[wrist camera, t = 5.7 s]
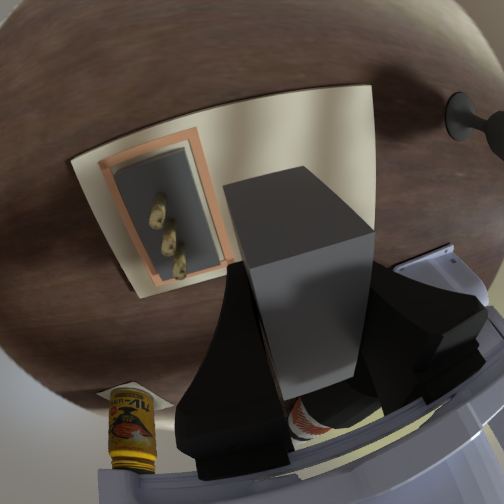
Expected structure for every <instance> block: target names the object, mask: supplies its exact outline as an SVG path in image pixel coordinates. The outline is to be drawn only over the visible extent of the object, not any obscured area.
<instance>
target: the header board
mask: <svg viewBox="0 0 504 504" xmlns="http://www.w3.org/2000/svg"><path fill="white" fill-rule="evenodd" d="M71 163H72V166H73V168H74V171H75V173H76V176H77V178H78V180H79V183H80V185H81V187H82V189H83V192H84V194H85V196H86V198H87V201H88V203H89V205H90V207H91V209H92V211H93V213H94V215H95V217H96V219H97V222H98V224H99V226H100V228H101V230H102V232H103V233H104V235H105V237H106V239H107V241H108V243H109V245H110V247H111V249H112V251H113V252H114V254H115V256H116V258H117V260H118V262H119V263H120V265H121V267H122V269H123V270H124V272H125V274H126V276H127V277H128V279H129V281H130V283H131V284H132V286H133V288H134V289H135V291H136V293H137V294H138V296H139V297H140V298H144V297H147V296H151V295H155V294H158V293H162V292H166V291H169V290H173V289H177V288H180V287H184V286H187V285H191V284H195V283H198V282H202V281H205V280H209V279H212V278H216V277H219V276H223V275H227V268H226V267H227V266H228V264H232V263H235V262H239V261H242V258H241V254H240V251H239V247H238V243H237V240H236V236H235V232H234V228H233V225H232V221H231V217H230V213H229V210H228V206H227V202H226V198H225V195H224V191H223V187H222V186H223V185H227V184H230V183H234V182H238V181H241V180H245V179H249V178H253V177H257V176H261V175H265V174H269V173H273V172H278V171H282V170H286V169H290V168H295V167H299V166H305V167H306V168H307V169H308V170H309V171H311V172H312V173H313V174H314V175H315V176H316V177H317V178H319V179H320V180H321V181H322V182H323V183H324V184H325V185H327V186H328V187H329V188H330V189H331V190H332V191H333V192H334V193H335V194H337V195H338V196H339V197H340V198H341V199H342V200H343V201H344V202H345V203H346V204H347V205H348V206H349V207H351V208H352V209H353V210H354V211H355V212H356V213H357V214H358V215H359V216H360V217H361V218H362V219H363V220H364V221H365V222H366V223H367V224H368V225H369V226H370V227H371V228H372V229H373V230H374V219H375V189H376V156H375V127H374V111H373V99H372V88H371V85H365V84H357V85H342V86H330V87H320V88H311V89H303V90H296V91H289V92H282V93H276V94H270V95H265V96H259V97H254V98H249V99H245V100H240V101H235V102H231V103H227V104H223V105H218V106H214V107H211V108H207V109H203V110H199V111H196V112H192V113H189V114H185V115H182V116H179V117H176V118H172V119H169V120H166V121H163V122H160V123H157V124H154V125H151V126H148V127H146V128H143V129H140V130H137V131H135V132H132V133H129V134H127V135H124V136H122V137H119V138H117V139H114V140H112V141H109V142H107V143H105V144H102V145H100V146H98V147H96V148H93V149H91V150H89V151H87V152H85V153H82V154H80V155H78V156H76V157H75V158H74V159H72V160H71Z"/></svg>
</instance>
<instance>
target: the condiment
mask: <svg viewBox="0 0 504 504" xmlns="http://www.w3.org/2000/svg"><path fill="white" fill-rule="evenodd" d="M97 394H98V395H100V396H101V397H103V398H105V399H107V400H108V401H110V404H109V406H110V410H109V431H108V433H109V438H108V439H109V440H108V445H109V446H108V449H109V451H108V452H109V455H110V457H111V458H112V462H111V463H112V469H115V470H128V471H132V472H135V473H137V474H138V475H144V474H155V465H154V462H155V461H156V459H157V451H156V440H155V423H154V411H156V410H159V409H164V408H167V407H171V406H174V405H173V404H170V403H169V402H167V401H165V400H163V399H161V398H160V397H158V396H157V395H155V394H154V393H152V392H150V391H149V390H147V389H145V388H144V387H142V386H140V385H139V384H137V383H136V382H131V383H128V384H124V385H120V386H117V387H114V388H111V389H108V390H106V391H104V392H100V393H97Z"/></svg>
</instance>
